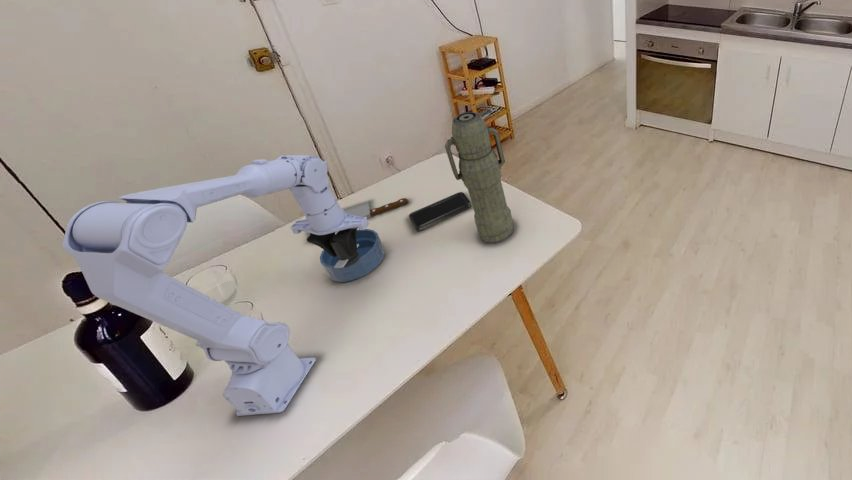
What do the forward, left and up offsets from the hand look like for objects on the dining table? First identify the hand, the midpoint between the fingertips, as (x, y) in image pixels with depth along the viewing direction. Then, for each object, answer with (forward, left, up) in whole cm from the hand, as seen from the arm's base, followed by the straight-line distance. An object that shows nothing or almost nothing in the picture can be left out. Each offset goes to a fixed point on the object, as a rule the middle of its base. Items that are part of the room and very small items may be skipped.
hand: (345, 252), depth 90 cm
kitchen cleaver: (+24, +13, -10) cm, 29 cm away
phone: (+23, -10, -10) cm, 27 cm away
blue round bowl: (+6, +4, -10) cm, 12 cm away
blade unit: (0, 0, -2) cm, 2 cm away
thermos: (+14, -28, -10) cm, 33 cm away
